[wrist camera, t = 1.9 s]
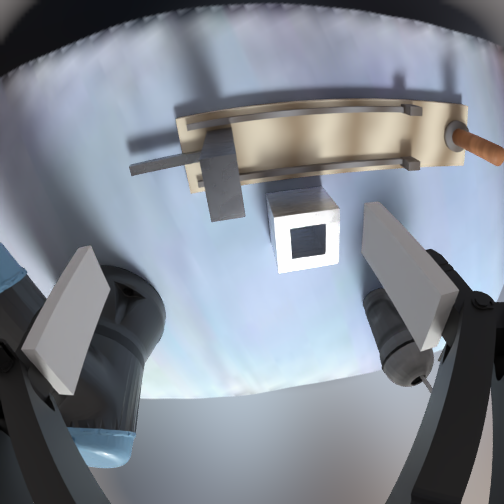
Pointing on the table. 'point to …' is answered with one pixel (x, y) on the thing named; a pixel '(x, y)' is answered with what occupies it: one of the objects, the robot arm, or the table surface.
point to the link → (303, 239)
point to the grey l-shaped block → (210, 173)
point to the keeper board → (337, 137)
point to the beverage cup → (396, 342)
